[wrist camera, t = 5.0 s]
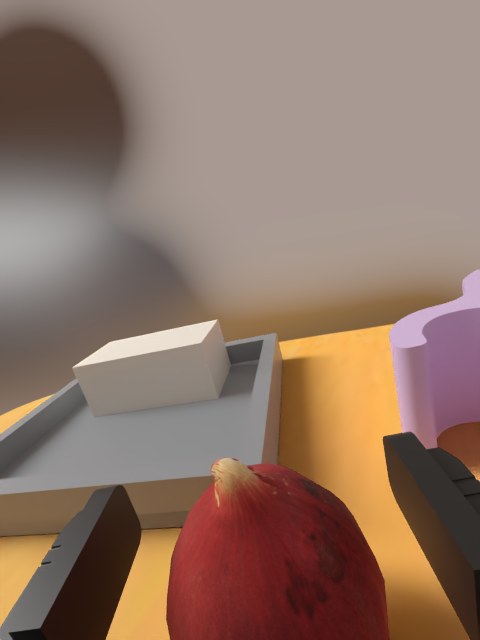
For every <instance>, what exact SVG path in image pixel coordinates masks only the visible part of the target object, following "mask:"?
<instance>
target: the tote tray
mask: <svg viewBox="0 0 480 640" xmlns="http://www.w3.org/2000/svg"><path fill="white" fill-rule="evenodd" d="M225 346H226V349H227V353H228V356H229V360H230V363H231V368H230V370H229V373H228V375H227V378H226V380H225V383H224V385H223V388H222V390H221V393H220V395H219V398H218V399H211V400H205V401H198V402H191V403H184V404H178V405H171V406H164V407H157V408H151V409H144V410H137V411H130V412H124V413H117V414H110V415H103V416H97V417H93V414H92V412H91V410H90V407H89V405H88V403H87V401H86V398H85V396H84V394H83V392H82V389H81V387H80V385H79V383H78V380H77V378H76V379H75V380H73V381H72V382H71V383H69V384H68V385H67V386H65V387H64V388H63V389H61V390H60V391H59V392H57V393H56V394H54V395H53V396H52V397H50V398H49V399H48V400H46V401H45V402H43V403H42V404H41V405H39V406H38V407H37V408H35V409H34V410H33V411H31V412H30V413H29V414H27V415H26V416H24V417H23V418H22V419H20V420H19V421H18V422H16V423H15V424H14V425H12V426H11V427H10V428H8V429H7V430H6V431H4V432H3V433H1V434H0V536H17V535H36V534H55V533H61V531H62V529H63V528H64V527H65V526H66V525H67V524H68V523H69V522H70V520H71V519H72V518H73V517H74V516H75V515H76V514H77V513H78V512H79V511H82V510H83V508H84V507H85V505H86V503H87V502H88V500H89V498H90V497H91V495H92V494H93V492H94V491H95V490H97V489H101V488H106V487H111V486H117V485H122V486H124V488H125V489H126V491H127V494H128V496H129V498H130V500H131V503H132V505H133V507H134V509H135V512H136V514H137V516H138V518H139V521H140V525H141V529H150V528H169V527H183V526H184V523H185V521H186V519H187V516H188V514H189V512H190V510H191V508H192V507H193V506H194V504H195V503H196V502H197V501H198V499H199V498H200V497H201V496H202V494H203V493H204V492H205V491H206V489H207V488H208V487H209V486H210V484H212V483H213V482H215V481H214V479H213V477H212V475H211V466H212V464H214V463H215V462H216V461H217V460H219V459H222V458H225V457H227V458H233V459H237V460H239V461H240V462H241V463H242V464H244V465H255V464H263V463H270V464H275V465H278V449H279V428H280V407H281V386H282V365H283V359H282V354H281V350H280V346H279V342H278V338H277V333H273V334H268V335H263V336H257V337H252V338H247V339H242V340H236V341H231V342H226V343H225Z"/></svg>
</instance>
